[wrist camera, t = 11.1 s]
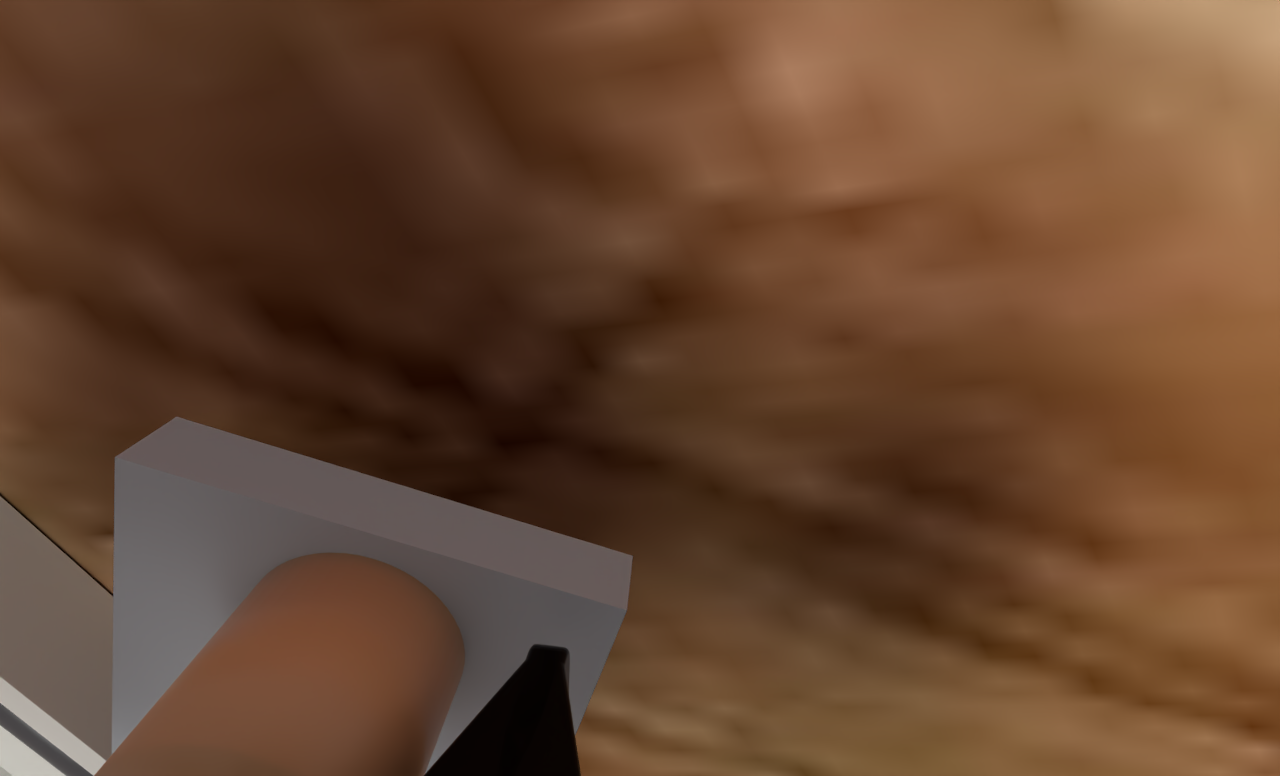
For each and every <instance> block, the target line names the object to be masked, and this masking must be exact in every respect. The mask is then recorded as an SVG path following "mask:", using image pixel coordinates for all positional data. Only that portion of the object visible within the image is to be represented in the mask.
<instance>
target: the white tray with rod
mask: <svg viewBox="0 0 1280 776" xmlns="http://www.w3.org/2000/svg"><path fill="white" fill-rule="evenodd" d="M112 671H113V596H112V595H111V594H109V593H108V592H107V591H106V590H105V589H104V588H103V587H102V586H100V585H99V584H98V583H97V582H96V581H95V580H94V579H93V578H91V577H90V576H89V575H88V574H87V573H86V572H85V571H84V570H83V569H81V568H80V567H79V566H78V565H77V564H76V563H75V562H74V561H72V560H71V559H70V558H69V557H68V556H67V555H66V554H65V553H63V552H62V551H61V550H60V549H59V548H58V547H57V546H56V545H54V544H53V543H52V542H51V541H50V540H49V539H48V538H47V537H46V536H44V535H43V534H42V533H41V532H40V531H39V530H38V529H37V528H35V527H34V526H33V525H32V524H31V523H30V522H29V521H28V520H26V519H25V518H24V517H23V516H22V515H21V514H20V513H19V512H17V511H16V510H15V509H14V508H13V507H12V506H11V505H10V504H9V503H7V502H6V501H5V500H4V499H3V498H2V497H1V496H0V776H94V775H95V774H96V773H97V772H98V770H99V769H100V768H101V767H102V766H103V764H104V763H105V762H106V761H107V760H108V759H109V757H110V756H111V755H112Z"/></svg>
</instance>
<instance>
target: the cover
mask: <svg viewBox="0 0 1280 776" xmlns="http://www.w3.org/2000/svg"><path fill="white" fill-rule="evenodd" d="M632 560H633V556H632V555H629V554H625V553H622V552H619V551H615V550H612V549H609V548H606V547H602V546H599V545H596V544H593V543H589V542H586V541H583V540H579V539H576V538H573V537H570V536H566V535H563V534H560V533H556V532H553V531H550V530H547V529H543V528H540V527H537V526H534V525H530V524H527V523H524V522H520V521H517V520H514V519H511V518H507V517H504V516H501V515H498V514H494V513H491V512H488V511H484V510H481V509H478V508H475V507H471V506H468V505H465V504H462V503H458V502H455V501H452V500H448V499H445V498H442V497H439V496H435V495H432V494H429V493H425V492H422V491H419V490H416V489H412V488H409V487H406V486H403V485H399V484H396V483H393V482H389V481H386V480H383V479H380V478H376V477H373V476H370V475H367V474H363V473H360V472H357V471H353V470H350V469H347V468H344V467H340V466H337V465H334V464H330V463H327V462H324V461H321V460H317V459H314V458H311V457H308V456H304V455H301V454H298V453H294V452H291V451H288V450H285V449H281V448H278V447H275V446H272V445H268V444H265V443H262V442H258V441H255V440H252V439H249V438H245V437H242V436H239V435H235V434H232V433H229V432H226V431H222V430H219V429H216V428H213V427H209V426H206V425H203V424H199V423H196V422H193V421H190V420H186V419H183V418H180V417H175V418H174V419H172V420H171V421H169V422H168V423H166V424H165V425H163V426H162V427H160V428H158V429H157V430H155V431H154V432H152V433H151V434H149V435H148V436H146V437H145V438H143V439H142V440H140V441H139V442H137V443H136V444H134V445H133V446H131V447H130V448H128V449H126V450H125V451H123V452H122V453H120V454H119V455H117V456H116V457H115V490H114V580H113V671H112V755H111V756H110V757H109V759H108V760H107V761H106V762H105V763H104V764H103V766H102V767H101V768H100V769H99V770H98V772H97V773H96V774H95V775H94V776H424V774H425V773H426V772H427V771H428V770H429V769H430V768H431V767H432V765H433V764H434V763H435V762H436V761H437V760H438V759H439V757H440V756H441V755H442V754H443V753H444V752H445V751H446V749H447V748H448V747H449V746H450V745H451V744H452V743H453V742H454V740H455V739H456V738H457V737H458V736H459V735H460V734H461V732H462V731H463V730H464V729H465V728H466V727H467V726H468V724H469V723H470V722H471V721H472V720H473V719H474V718H475V717H476V715H477V714H478V713H479V712H480V711H481V710H482V709H483V707H484V706H485V705H486V704H487V703H488V702H489V701H490V699H491V698H492V697H493V696H494V695H495V694H496V693H497V691H498V690H499V689H500V688H501V687H502V686H503V685H504V684H505V682H506V681H507V680H508V679H509V678H510V677H511V676H512V674H513V673H514V672H515V671H516V670H517V669H518V668H519V666H520V665H521V664H522V663H523V662H524V661H525V659H526V657H527V654H528V651H529V649H530V648H531V646H532V645H534V644H543V645H551V646H560V647H565V648H567V649H568V650H569V652H570V672H569V699H570V705H571V712H572V719H573V726H574V733H575V735H576V732H577V730H578V728H579V725H580V723H581V720H582V718H583V716H584V713H585V711H586V708H587V706H588V703H589V701H590V699H591V696H592V694H593V691H594V689H595V686H596V684H597V682H598V679H599V677H600V674H601V672H602V670H603V667H604V665H605V662H606V660H607V657H608V655H609V653H610V650H611V648H612V645H613V643H614V640H615V638H616V636H617V633H618V631H619V628H620V626H621V624H622V621H623V619H624V616H625V614H626V611H627V606H628V597H629V587H630V578H631V569H632Z"/></svg>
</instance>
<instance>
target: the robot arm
mask: <svg viewBox="0 0 1280 776" xmlns="http://www.w3.org/2000/svg"><path fill="white" fill-rule="evenodd" d="M569 672H570V652H569V650H568V649H567V648H565V647H560V646H551V645H543V644H534V645H532V646H531V648H530V649H529V651H528V654H527V657H526V659H525V661H524V662H523V663H522V664H521V665H520V666H519V668H518V669H517V670H516V671H515V672H514V673H513V674H512V676H511V677H510V678H509V679H508V680H507V681H506V682H505V684H504V685H503V686H502V687H501V688H500V689H499V690H498V691H497V693H496V694H495V695H494V696H493V697H492V698H491V699H490V701H489V702H488V703H487V704H486V705H485V706H484V707H483V709H482V710H481V711H480V712H479V713H478V714H477V715H476V717H475V718H474V719H473V720H472V721H471V722H470V723H469V724H468V726H467V727H466V728H465V729H464V730H463V731H462V732H461V734H460V735H459V736H458V737H457V738H456V739H455V740H454V742H453V743H452V744H451V745H450V746H449V747H448V748H447V749H446V751H445V752H444V753H443V754H442V755H441V756H440V757H439V759H438V760H437V761H436V762H435V763H434V764H433V765H432V767H431V768H430V769H429V770H428V771H427V772H426V773H425V774H424V776H581V773H580V767H579V760H578V753H577V746H576V739H575V733H574V726H573V719H572V712H571V705H570V699H569Z"/></svg>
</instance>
